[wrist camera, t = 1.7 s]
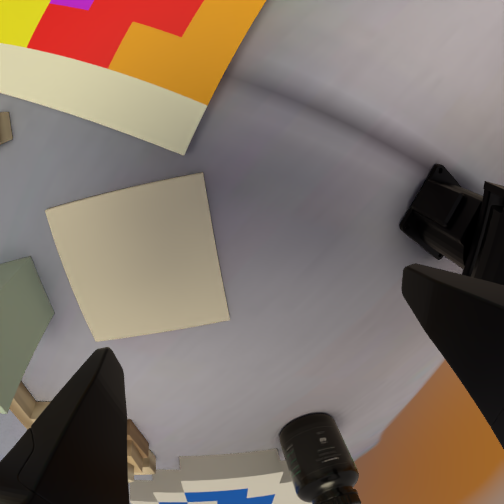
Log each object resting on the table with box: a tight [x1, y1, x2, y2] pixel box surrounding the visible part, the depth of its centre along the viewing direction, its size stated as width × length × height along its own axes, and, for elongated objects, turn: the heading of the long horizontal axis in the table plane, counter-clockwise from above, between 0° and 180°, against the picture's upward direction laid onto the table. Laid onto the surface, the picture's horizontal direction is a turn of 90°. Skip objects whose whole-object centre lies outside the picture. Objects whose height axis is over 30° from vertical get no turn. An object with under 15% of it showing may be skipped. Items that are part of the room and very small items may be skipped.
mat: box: [45, 172, 230, 342], centre depth 21 cm, size 11×11×1 cm
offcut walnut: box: [127, 419, 149, 458], centre depth 27 cm, size 7×5×2 cm
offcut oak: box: [127, 440, 143, 473], centre depth 25 cm, size 6×4×2 cm, turn 91°
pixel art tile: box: [130, 449, 312, 504], centre depth 36 cm, size 28×4×28 cm
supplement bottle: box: [280, 414, 361, 504], centre depth 27 cm, size 7×7×12 cm
